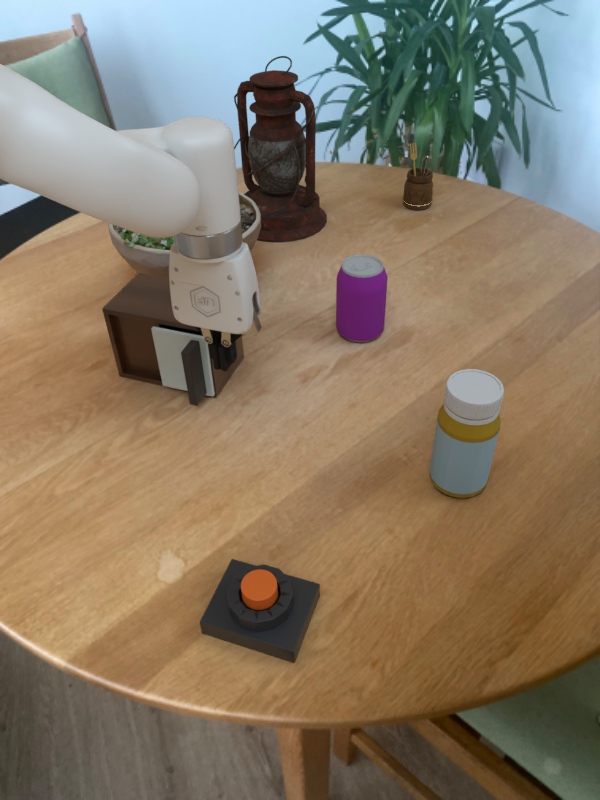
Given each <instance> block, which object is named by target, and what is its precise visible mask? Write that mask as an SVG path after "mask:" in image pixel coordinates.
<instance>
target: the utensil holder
mask: <svg viewBox="0 0 600 800" xmlns="http://www.w3.org/2000/svg"><path fill="white" fill-rule="evenodd" d="M417 149H418V148H417V142H416V141H415V142H412V143H409V157H410V160H411V161H412V166H413V167H412V168H410V169H408V171H407V173H406V180H405V182H404V187H403V198H402V199H403V200H404V201H405V202H406V203H408V204H412V205H424V204H428V203H430V202H431V201H433V193H434V182H433V177H434V175H433V171H432V168H431V167H432V162H429V166H428V168H426V167H427V163H428V160H429V161H433V159H432V158H431V156H429V155H424V156H423V157H422V158H421V160H420V161H419V162H420V163H419V164H420V165H419V166H418V167H416V160H417V159H418V150H417ZM426 158H427V159H426ZM425 159H426V160H425ZM424 160H425V166H424V167H423V161H424ZM403 200H402V201H403ZM404 201H403V206H404V207H405V208H407V209H409V210H412V211H423V210H426V209H428V208H430V207H431V205H432V202H431V203H430V204H429V205H426V206H420V207H417V206H411V205H408V204H406V203H405V202H404Z"/></svg>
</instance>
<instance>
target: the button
mask: <svg viewBox="0 0 600 800" xmlns="http://www.w3.org/2000/svg"><path fill="white" fill-rule="evenodd" d="M241 592H242V599H243V601H244V603H245V604H246V605H247V606H248V607H249V608H251V609H254V610H264V609H267V608H269V607H271V606H272V605H273V604H274V603H275V602H276V600H277V597H278V587H277V580H276V578H275V576H274V575H273V574H272V573H271V572H269V571H267V570H262V569H258V570H254V571H251V572H249V573H248V574H246V575H245V577H244V578H243V580H242V582H241Z"/></svg>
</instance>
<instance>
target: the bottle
mask: <svg viewBox="0 0 600 800" xmlns="http://www.w3.org/2000/svg"><path fill="white" fill-rule="evenodd" d="M504 395H505V388H504V385H503V383H502V381H501V380H500V378H498V377H497V376H496V375H494V374H493V373H490V372H488V371H486V370H481V369H477V368H476V369H475V368H466V369H461V370H457V371H455V372H454V373H452V374H451V375H450V376H449V377H448V379H447V381H446V384H445V391H444V396H443V397H444V398H443V403H442V404H441V406H440V408H439V409H438V414H437V419H436V423H435V431H434V437H433V444H432V449H431V450H432V452H431V457H430V465H429V473H428V474H429V479H430V481H431V483H432V484H433V486H434V487H435V488H436V489H437V490H439V491H440V492H442V493H443V494H444V495H447V496H449V497H452V498H456V499H467V498H471V497H474V496H476V495H479V494H480V493H481V492H483V491H484V490H485V488H486V486H487V483H488V481H489V476H490V472H491V468H492V464H493V459H494V455H495V452H496V447H497V442H498V438H499V434H500V430H501V422H502V421H501V420H502V419H501V416H500V410H501V407H502V403H503V400H504Z"/></svg>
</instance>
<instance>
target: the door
mask: <svg viewBox="0 0 600 800" xmlns="http://www.w3.org/2000/svg"><path fill="white" fill-rule="evenodd" d="M151 330H152V335H153V340H154V345H155V350H156V355H157V360H158V364H159V369H160V374H161V379H162V384H163V386H162V387H166V386H167V387H166V388H170V389H171V388H172V389H175V388H176V389H175V390H180V391H184V390H185V391H184V392H187V396H188V401H189V405H191V406H194V407H198V406H199V405H200V403H201V402H202V400H203V399H204V397H205V396H207V395H208V397H211V398H214V397H213V396H214V395H215V393H214V386H213V378H212V371H211V364H210V357H209V350H208V343H206V342H205V340H204V337H203V336H200V335H195V334H190V333H185V332H180V331H175V330H169V329H164V328H159V327H154V326H153V327H152V328H151Z"/></svg>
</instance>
